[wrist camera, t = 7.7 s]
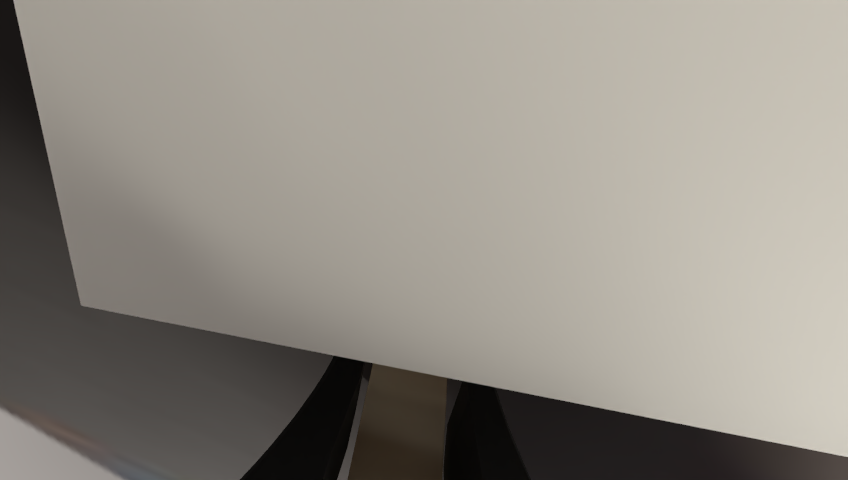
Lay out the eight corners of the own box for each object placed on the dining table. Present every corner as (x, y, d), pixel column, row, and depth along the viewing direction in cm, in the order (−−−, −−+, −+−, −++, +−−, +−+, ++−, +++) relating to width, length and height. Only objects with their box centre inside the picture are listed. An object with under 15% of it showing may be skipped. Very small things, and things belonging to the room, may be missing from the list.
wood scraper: (490, 407, 16) (500, 673, 10) (311, 372, 15) (224, 624, 10) (710, -130, 8) (1175, -214, 3) (377, -211, 8) (179, -475, 3)
